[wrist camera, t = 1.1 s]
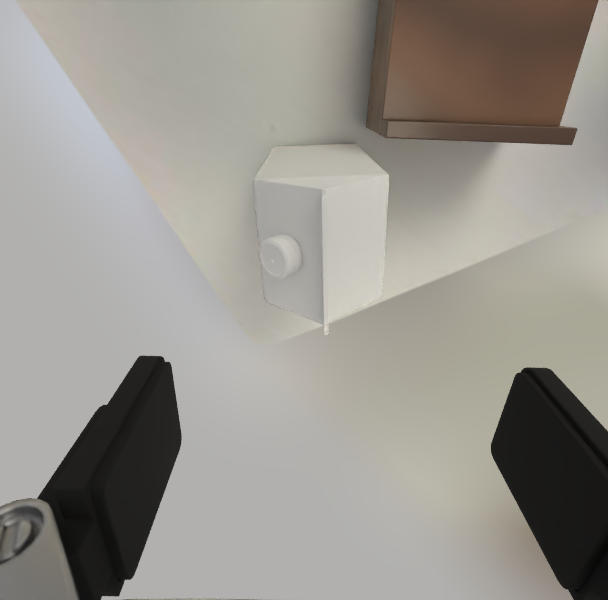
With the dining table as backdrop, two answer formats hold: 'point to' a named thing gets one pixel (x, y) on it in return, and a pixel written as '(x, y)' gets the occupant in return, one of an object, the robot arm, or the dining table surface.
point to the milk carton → (321, 229)
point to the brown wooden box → (476, 69)
